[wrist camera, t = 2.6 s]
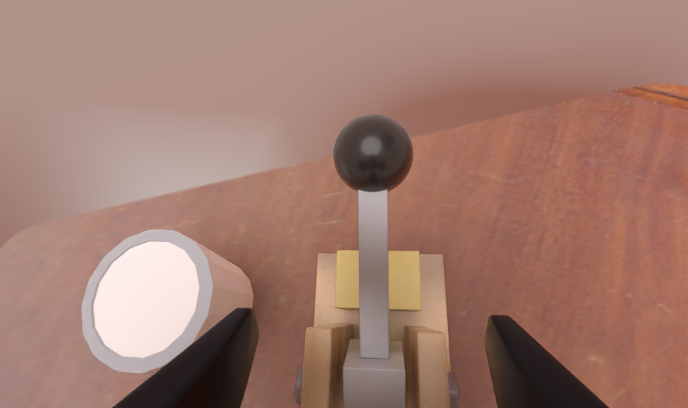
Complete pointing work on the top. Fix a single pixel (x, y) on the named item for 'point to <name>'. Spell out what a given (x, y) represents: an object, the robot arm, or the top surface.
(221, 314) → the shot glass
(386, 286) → the lever
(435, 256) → the butter cutter
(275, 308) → the top surface
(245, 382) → the robot arm
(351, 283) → the butter
